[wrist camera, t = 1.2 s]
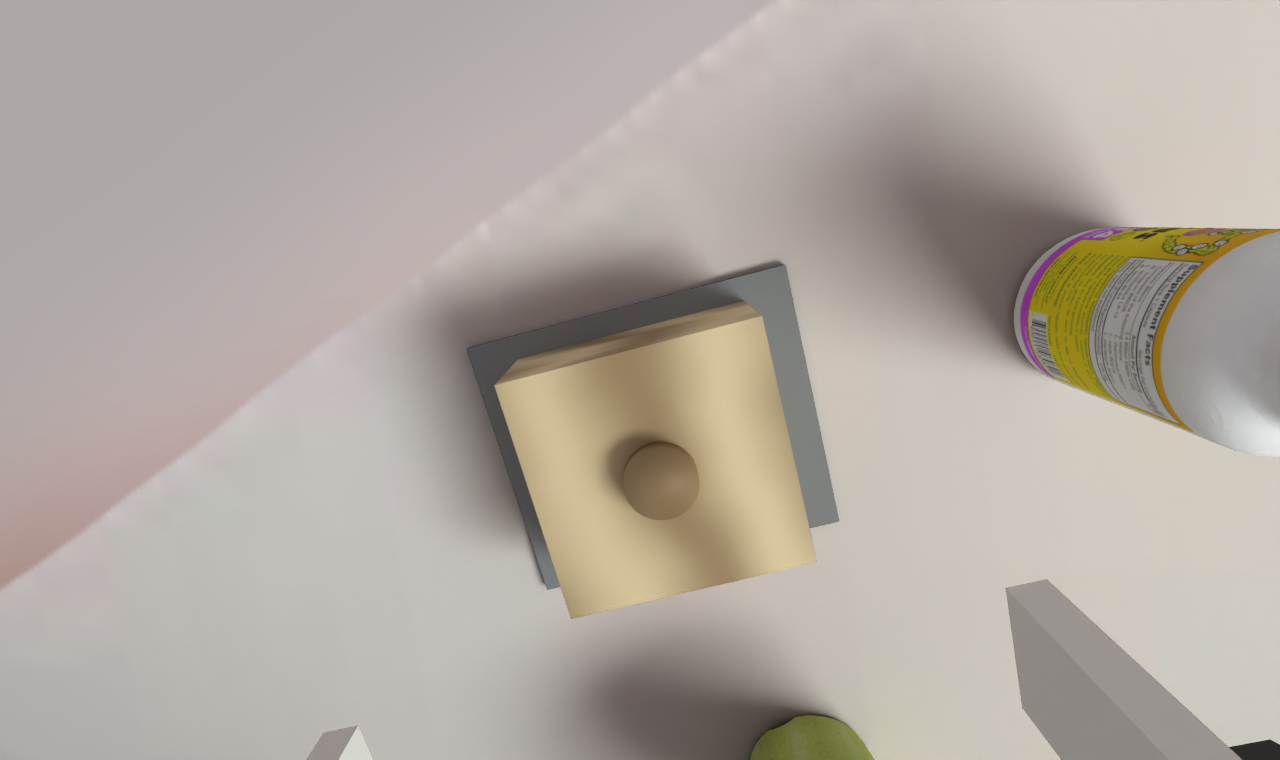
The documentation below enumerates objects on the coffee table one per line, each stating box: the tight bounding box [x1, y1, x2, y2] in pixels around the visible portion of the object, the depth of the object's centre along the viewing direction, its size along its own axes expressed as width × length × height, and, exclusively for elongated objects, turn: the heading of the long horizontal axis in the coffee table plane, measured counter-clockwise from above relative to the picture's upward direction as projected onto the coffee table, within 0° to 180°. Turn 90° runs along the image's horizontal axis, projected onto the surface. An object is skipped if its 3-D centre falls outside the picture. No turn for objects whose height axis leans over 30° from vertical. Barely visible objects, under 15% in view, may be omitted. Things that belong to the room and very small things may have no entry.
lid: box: [494, 300, 817, 619], centre depth 26 cm, size 10×10×5 cm
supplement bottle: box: [1014, 227, 1280, 457], centre depth 22 cm, size 7×7×13 cm
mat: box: [467, 265, 839, 590], centre depth 29 cm, size 14×12×1 cm
